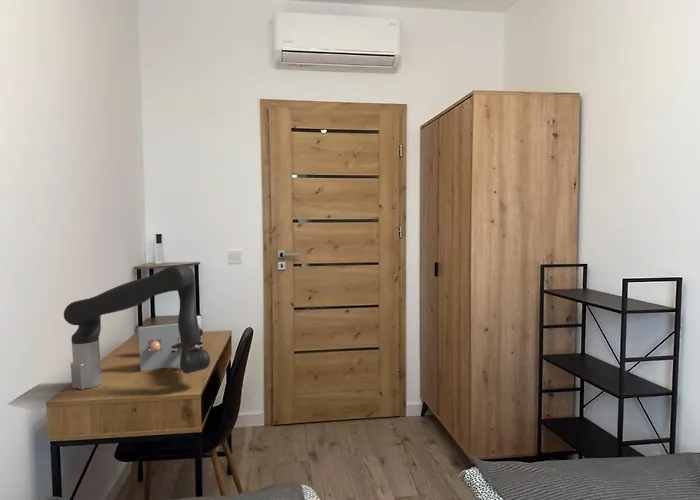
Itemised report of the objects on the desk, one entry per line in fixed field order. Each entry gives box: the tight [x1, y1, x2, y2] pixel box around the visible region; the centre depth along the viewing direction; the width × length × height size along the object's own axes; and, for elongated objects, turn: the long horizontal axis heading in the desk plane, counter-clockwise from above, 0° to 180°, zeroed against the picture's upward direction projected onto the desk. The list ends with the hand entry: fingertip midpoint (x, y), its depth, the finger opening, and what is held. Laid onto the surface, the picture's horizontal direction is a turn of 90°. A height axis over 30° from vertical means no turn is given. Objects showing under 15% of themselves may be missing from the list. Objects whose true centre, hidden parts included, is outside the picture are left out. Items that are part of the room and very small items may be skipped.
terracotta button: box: [150, 340, 161, 353], centre depth 200 cm, size 6×4×4 cm, turn 25°
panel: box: [137, 322, 181, 372], centre depth 208 cm, size 9×24×18 cm, turn 115°
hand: (185, 342), depth 204 cm, fingers closed
